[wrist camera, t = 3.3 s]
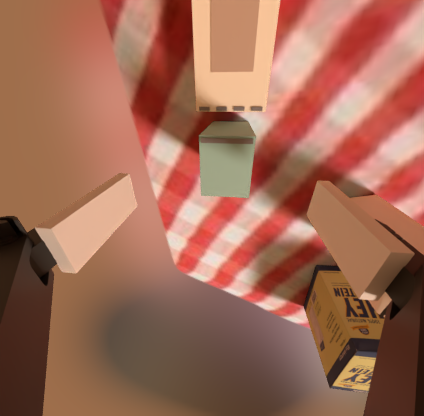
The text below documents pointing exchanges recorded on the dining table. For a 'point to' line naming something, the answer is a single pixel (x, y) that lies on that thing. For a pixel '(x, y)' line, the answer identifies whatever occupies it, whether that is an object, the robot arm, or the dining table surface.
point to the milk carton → (396, 221)
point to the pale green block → (226, 158)
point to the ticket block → (233, 53)
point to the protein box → (343, 330)
